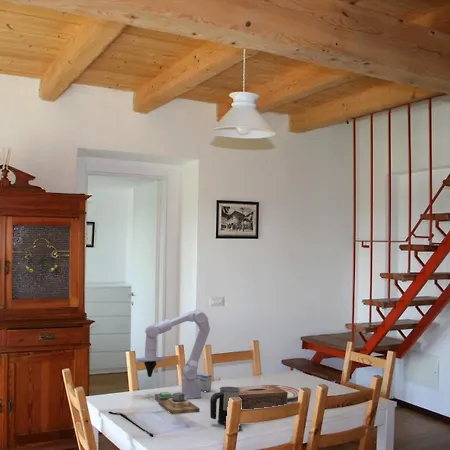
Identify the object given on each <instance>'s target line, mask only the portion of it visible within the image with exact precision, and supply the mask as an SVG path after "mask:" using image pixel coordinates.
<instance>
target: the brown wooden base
mask: <svg viewBox="0 0 450 450" xmlns="http://www.w3.org/2000/svg"><path fill="white" fill-rule="evenodd" d="M158 405H159V406H160V407H162V408H163V409H164V410H165V411H166V412H168V411H169V412H170V413H172V414H171V415H177V414H189V413H200V408H199V407H198V406H196V405H195V404H193V403H192V402H191V401H190V400H188V399H185V398H184V402H173V401H172V398H171V399H168V400H163V401H159V402H158ZM169 412H168V413H169ZM170 413H169V414H170Z"/></svg>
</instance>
